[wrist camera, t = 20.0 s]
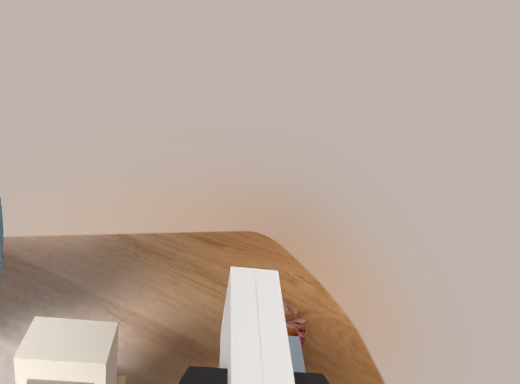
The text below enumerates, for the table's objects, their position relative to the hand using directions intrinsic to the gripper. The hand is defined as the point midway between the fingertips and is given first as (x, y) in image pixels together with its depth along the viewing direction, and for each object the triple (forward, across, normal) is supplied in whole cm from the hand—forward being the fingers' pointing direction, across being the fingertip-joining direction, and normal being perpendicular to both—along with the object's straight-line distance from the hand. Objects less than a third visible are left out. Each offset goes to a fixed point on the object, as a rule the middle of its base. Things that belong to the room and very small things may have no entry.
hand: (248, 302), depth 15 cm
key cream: (+14, -10, -30) cm, 35 cm away
